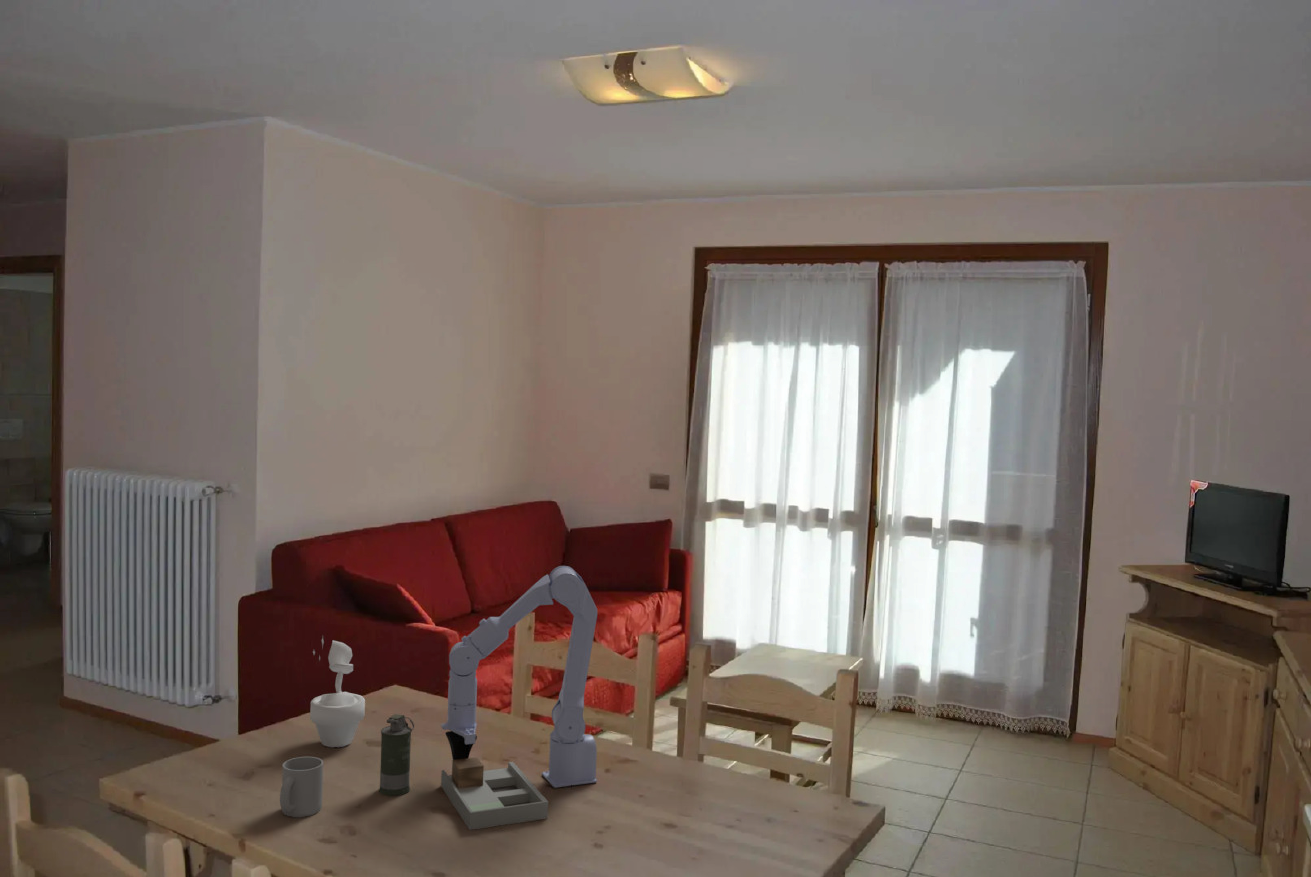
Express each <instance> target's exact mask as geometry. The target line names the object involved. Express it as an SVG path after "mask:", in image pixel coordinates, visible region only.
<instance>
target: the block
mask: <svg viewBox="0 0 1311 877" xmlns="http://www.w3.org/2000/svg"><path fill="white" fill-rule="evenodd" d="M451 766H452V767H451V775H452V781H453V782H454V784H455V785H456V787H457V788H458V789H461V788H469V787H477V786H483V771H485V770H484V767H485V766H484V764H483V763H482V762H481V761H480V760H479V758H478V757H477V756H476V757H469V758H466V759H458V760H453V759H452V764H451Z"/></svg>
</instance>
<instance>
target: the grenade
mask: <svg viewBox="0 0 1311 877" xmlns="http://www.w3.org/2000/svg"><path fill="white" fill-rule="evenodd" d="M406 719H408V720H409V722H410V723H411V724H412V728H411V727H410V726H409V724H408V722H407V721H406ZM386 723H388V724H390V725H388V726H385V727H383V728H382V729H381V730H380V734H381V737H380V738H381V741H380V742H381V744H380V745H381V746H380V771H379V772H380V773H379V774H380V776H379V777H380V778H379V789H378V792H379V794H380V795H383V796H387V797H398V796H402V795H406V794H407V793H409V792H410V790H411V788H410V773H411V770H410V768H411V746H412V745H411V743H412V742H411V740H412V732H413V730H414V729H415V724H414V722H413V720H412V719H411V718H409V717H407V716H406V717H405V715H404V714H399V713H398V714H397V713H394V714H392V715H391V716H389V717H388V719H386Z"/></svg>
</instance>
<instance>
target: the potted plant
mask: <svg viewBox="0 0 1311 877" xmlns="http://www.w3.org/2000/svg"><path fill="white" fill-rule="evenodd" d="M320 641H321V646H322V649H323V647H324V643H325V641H324V636H322V639H321V640H320ZM352 651H353V650H352V648H351V647H350V646H349V645H347V644H346V643H344V642H342V641H337V640H334V639H333V640H332V643H331V647H330V649H329V653H328V656H327V659H328V663H329V666H328V668H329V669H330V670H331V671H332V672H334V673H337V674H336V677H335V683H334V686H335V691H336V692H333V693H325V694H322V695H319V696H316V697H314V698H313V699H311V701H310V713H309V714H310V715H309V716H310V717H309V718H310V721H311V722H312V723H313V724H315V728H316V730H317V734H318V736H319V740H320V743H321V744H322V746H325V747H327V748H334V747H337V748H343V747H346V746H348V745H350V744H351V743H352V742H353V741H354V740H353V739H354V737H355V734H356V731H357V729H358V726H359V723H360V722H361V721H362V720H363V719H364V718H365V714H366V713H365V709H366V699H365V698H364V696H362V695H360V694H357V693H351V692H348V691H342V683H343V676H344V674H345V675H348V674H350V673H352V672H353V671H354V664H353V663H350V662H351V660H352V658H353V655H354V654H353V652H352ZM312 653H313V655H315V654H316V651H315V650H313V651H312ZM318 658H319V659H318V660H319V661H321V656H320V655H319V657H318Z"/></svg>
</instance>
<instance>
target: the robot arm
mask: <svg viewBox="0 0 1311 877" xmlns="http://www.w3.org/2000/svg"><path fill="white" fill-rule="evenodd" d="M591 595H592V594H591V593H590V591H589V589H588V587H587V585H586V583H585V582H584V580H583V578H582V576H580V575H579V574H578V572H576V570H574V568H572V567H571V566H567V565H559V566H557V567H555V568H554V569H552V571H550V573H549V574H546V575H544V576H542V577H541V578H540V579H539V580H538V581H537V582H535V583H534V584H533V585H531V587H530V588H529V589H527V591H526V592H524V594H522V595H521V596H520V597H519V598H518V599H517V600H516V601H514V603H513V604H511V606H509V608H507V609H506V610H504V611H503V613H502V614H501V615H500V616H489V617H488V618H487V619H485V618H483V619H481V620H480V621H479V622H478V624H479V625H478V627H476V628H475V629H474V630H473V631H472V632H470V633H469V634H468V635H467V636H466V635H464V636H463V637H461V641H459V642H457V643H455V644H454V645H453V646H452V647H451V649H450V652H449V653H448V661H449V662H448V663H449V667H450V669H449V674H448V675H449V679H448V689H447V690H448V692H447V693H448V694H447V695H448V696H447V718H446V719H447V721H446V722H443V723H441V729H442V730H444V731H445V733H444V734H445V737H446V738H447V740H448V744H449V747H450V751H451V752H450V753H451V758H452V760H458V759H466V758H470V754H471V750H472V748H473V746H474V744H476V741H477V739H478V736H477V734H476V731H477V726H478V724H477V723H478V722H477V696H478V695H477V693H478V679H477V669H478V667H479V663H480V661H481V660H484V659H486V658H487V657H488V656H489V655H491V653H493V652H494V651H495V650H496V649H497V648H499V646H501V645H502V644H503V643H505V642H506V641H507V640H508V639H509V635H510V634H509V631H510V629H511V628H513V627H514V626H515V625H516V624H518V623H519V622H520V621H521V620H523V619H524V618H525V617H526V616H528V615H529V614H530V613H531V612H533V611H534V610H535V609H537V608H538V607H539V606H548V605H549V606H550V605H554V600H555V601H556V602H558V603H559V604H560V605H563V606H565V607H566V609H568V611H569V612H570V613H571V614H572V615H573V619H572V623H571V624H572V625H571V631H570V637H569V643H568V649H567V654H566V656H567V657H566V660H565V661H566V662H565V667H564V672H563V679H562V684H561V689H560V691H559V694H558V699H557V701H556V703H555V704H554V706H553V708H552V710H551V720H552V721H553V726H554V728H553V730H552V731H551V732H550V734H549V736H550V737H549V754H548V755H549V757H548V771H542V773H541V774H542V776H543V778H545V779H546V781H548V783H549V784H550V785H551V786H552V787H553V788H556V789H557V788H562V787H564V788H566V787H572V786H579V785H585V784H586V785H587V784H594V783H597V782H598V779H596V778H597V775H596V774H597V756H598V754H597V753H598V750H597V743H596V740H595V738H594V736H593V735H592V734H585V731H586V722H585V719H584V709H585V690H586V684H587V680H588V679H587V678H588V672H589V666H590V662H591V661H590V660H591V654H592V649H593V643H594V638H595V631H596V624H597V620H598V619H597V618H598V608H597V605H596V604H595V602H594V599H593V598H592V596H591ZM553 599H554V600H553ZM447 730H448V731H447ZM571 785H572V786H571Z"/></svg>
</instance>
